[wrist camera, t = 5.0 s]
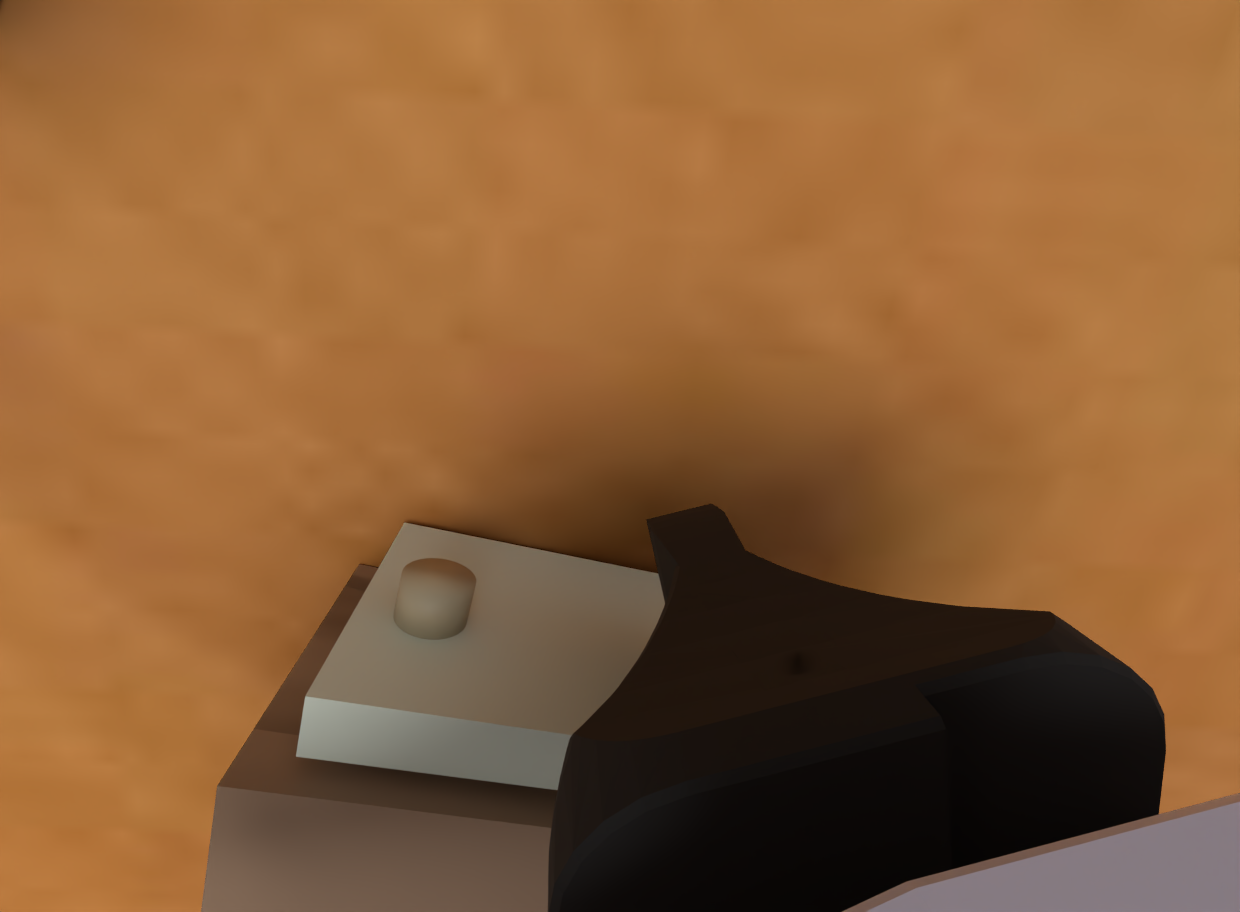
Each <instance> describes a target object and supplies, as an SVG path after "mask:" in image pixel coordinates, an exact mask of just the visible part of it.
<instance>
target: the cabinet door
mask: <svg viewBox="0 0 1240 912" xmlns="http://www.w3.org/2000/svg"><path fill="white" fill-rule="evenodd" d="M664 605H665V601H664V596H663V592H662V588H661V583H660V579H659V574H658V573H653V572H648V571H643V570H638V569H633V568H628V567H623V566H618V565H613V564H608V563H603V562H598V561H593V560H588V559H583V558H578V557H573V556H568V555H563V554H559V553H554V552H549V551H544V550H539V549H534V548H529V547H524V546H519V545H514V544H509V543H504V542H499V541H494V540H489V539H484V538H479V537H474V536H469V535H464V534H459V533H454V532H449V531H444V530H439V529H434V528H430V527H425V526H420V525H415V524H410V523H405V522H404V524H403V526H402V528H401V529H400V531H399V533H398V535H397V536H396V538H395V540H394V542H393V543H392V545H391V547H390V549H389V550H388V552H387V554H386V556H385V557H384V559H383V561H382V563H381V564H380V566H379V568H378V570H377V571H376V573H375V575H374V577H373V578H372V580H371V582H370V584H369V585H368V587H367V589H366V591H365V592H364V594H363V596H362V598H361V599H360V601H359V603H358V605H357V606H356V608H355V610H354V612H353V613H352V615H351V617H350V619H349V620H348V622H347V624H346V626H345V627H344V629H343V631H342V633H341V634H340V636H339V638H338V640H337V641H336V643H335V645H334V647H333V648H332V650H331V652H330V654H329V655H328V657H327V659H326V661H325V662H324V664H323V666H322V668H321V669H320V671H319V673H318V675H317V676H316V678H315V680H314V682H313V683H312V685H311V687H310V689H309V690H308V692H307V694H306V696H305V701H304V707H303V714H302V720H301V726H300V733H299V739H298V746H297V752H296V757H303V758H311V759H319V760H327V761H334V762H342V763H350V764H358V765H366V766H373V767H381V768H389V769H397V770H404V771H412V772H420V773H428V774H436V775H443V776H451V777H459V778H467V779H474V780H482V781H490V782H498V783H506V784H513V785H521V786H529V787H537V788H544V789H552V790H558V785H559V779H560V775H561V771H562V767H563V762H564V758H565V754H566V750H567V746H568V742H569V739H570V737H571V736H572V734H573V733H574V732H575V731H576V730H577V729H579V728H580V727H581V726H582V725H583V724H584V723H585V722H586V721H587V720H588V719H589V718H590V717H591V716H592V715H593V714H594V713H595V712H596V710H597V709H598V708H599V707H600V706H601V705H602V704H603V703H604V702H605V701H606V700H607V699H608V698H609V697H610V696H611V695H612V694H613V693H614V692H615V690H616V689H617V688H618V687H619V685H620V684H621V682H622V681H623V680H624V678H625V677H626V675H627V674H628V673H629V671H630V670H631V668H632V667H633V666H634V664H635V663H636V661H637V660H638V658H639V657H640V655H641V653H642V651H643V650H644V648H645V646H646V644H647V642H648V641H649V639H650V637H651V635H652V633H653V631H654V629H655V627H656V625H657V623H658V620H659V618H660V615H661V613H662V611H663V608H664Z"/></svg>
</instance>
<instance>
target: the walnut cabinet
mask: <svg viewBox="0 0 1240 912" xmlns="http://www.w3.org/2000/svg"><path fill="white" fill-rule="evenodd" d="M377 570H378V568H377V567H371V566H366V565H361V564H359V566H358V567H357V569H356V570H355V572H354V573H353V575H352V577H351V578H350V580H349V581H348V583H347V584H346V586H345V587H344V589H343V591H342V592H341V594H340V595H339V597H338V598H337V600H336V602H335V603H334V605H333V606H332V608H331V609H330V611H329V612H328V614H327V616H326V617H325V619H324V620H323V622H322V623H321V625H320V627H319V628H318V630H317V631H316V633H315V634H314V636H313V637H312V639H311V641H310V642H309V644H308V645H307V647H306V648H305V650H304V651H303V653H302V655H301V656H300V658H299V659H298V661H297V662H296V664H295V666H294V667H293V669H292V670H291V672H290V673H289V675H288V676H287V678H286V680H285V681H284V683H283V684H282V686H281V687H280V689H279V691H278V692H277V694H276V695H275V697H274V698H273V700H272V701H271V703H270V705H269V706H268V708H267V709H266V711H265V712H264V714H263V715H262V717H261V719H260V720H259V722H258V723H257V725H256V726H255V728H254V730H253V731H252V733H251V734H250V736H249V737H248V739H247V740H246V742H245V744H244V745H243V747H242V748H241V750H240V751H239V753H238V755H237V756H236V758H235V759H234V761H233V762H232V764H231V765H230V767H229V769H228V770H227V772H226V773H225V775H224V776H223V778H222V779H221V781H220V783H219V784H218V786H217V792H216V800H215V808H214V816H213V824H212V831H211V839H210V847H209V855H208V863H207V870H206V878H205V886H204V894H203V902H202V909H201V912H548V862H549V844H550V835H551V828H552V820H553V813H554V806H555V800H556V795H557V790H552V789H544V788H537V787H529V786H521V785H513V784H506V783H498V782H490V781H482V780H474V779H467V778H459V777H451V776H443V775H436V774H428V773H420V772H412V771H404V770H397V769H389V768H381V767H373V766H366V765H358V764H350V763H342V762H334V761H327V760H319V759H311V758H303V757H296V752H297V746H298V739H299V733H300V726H301V720H302V714H303V707H304V701H305V696H306V694H307V692H308V690H309V689H310V687H311V685H312V683H313V682H314V680H315V678H316V676H317V675H318V673H319V671H320V669H321V668H322V666H323V664H324V662H325V661H326V659H327V657H328V655H329V654H330V652H331V650H332V648H333V647H334V645H335V643H336V641H337V640H338V638H339V636H340V634H341V633H342V631H343V629H344V627H345V626H346V624H347V622H348V620H349V619H350V617H351V615H352V613H353V612H354V610H355V608H356V606H357V605H358V603H359V601H360V599H361V598H362V596H363V594H364V592H365V591H366V589H367V587H368V585H369V584H370V582H371V580H372V578H373V577H374V575H375V573H376V571H377Z"/></svg>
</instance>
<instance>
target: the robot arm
mask: <svg viewBox="0 0 1240 912" xmlns="http://www.w3.org/2000/svg"><path fill="white" fill-rule="evenodd" d="M646 520H647V525H648V529H649V534H650V538H651V543H652V547H653V552H654V556H655V561H656V565H657V570H658V574H659V579H660V583H661V588H662V592H663V596H664V601H665V605H664V608H663V611H662V613H661V615H660V618H659V620H658V623H657V625H656V627H655V629H654V631H653V633H652V635H651V637H650V639H649V641H648V642H647V644H646V646H645V648H644V650H643V651H642V653H641V655H640V657H639V658H638V660H637V661H636V663H635V664H634V666H633V667H632V668H631V670H630V671H629V673H628V674H627V675H626V677H625V678H624V680H623V681H622V682H621V684H620V685H619V687H618V688H617V689H616V690H615V692H614V693H613V694H612V695H611V696H610V697H609V698H608V699H607V700H606V701H605V702H604V703H603V704H602V705H601V706H600V707H599V708H598V709H597V710H596V712H595V713H594V714H593V715H592V716H591V717H590V718H589V719H588V720H587V721H586V722H585V723H584V724H583V725H582V726H581V727H580V728H579V729H577V730H576V731H575V732H574V733H573V734H572V736H571V737H570V739H569V742H568V746H567V750H566V754H565V758H564V762H563V767H562V771H561V775H560V779H559V785H558V790H557V795H556V800H555V806H554V813H553V820H552V828H551V835H550V844H549V862H548V912H1240V793H1238V794H1234V795H1230V796H1226V797H1223V798H1219V799H1215V800H1211V801H1208V802H1204V803H1200V804H1196V805H1192V806H1189V807H1185V808H1181V809H1177V810H1174V811H1170V812H1166V813H1162V814H1159V806H1160V797H1161V789H1162V780H1163V771H1164V763H1165V754H1166V742H1165V722H1164V713H1163V711H1162V709H1161V706H1160V704H1159V702H1158V700H1157V698H1156V695H1155V693H1154V691H1153V689H1152V688H1151V687H1150V686H1149V685H1148V684H1147V683H1146V682H1145V681H1144V680H1143V679H1142V678H1141V677H1140V676H1139V675H1138V674H1136V673H1135V672H1134V671H1133V670H1132V669H1131V668H1130V667H1128V666H1127V665H1126V664H1124V663H1123V662H1121V661H1120V660H1119V659H1117V658H1116V657H1114V656H1113V655H1112V654H1110V653H1109V652H1107V651H1106V650H1105V649H1103V648H1102V647H1100V646H1099V645H1097V644H1096V643H1095V642H1093V641H1092V640H1090V639H1089V638H1088V637H1086V636H1085V635H1083V634H1082V633H1081V632H1079V631H1078V630H1076V629H1075V628H1073V627H1072V626H1071V625H1069V624H1068V623H1066V622H1065V621H1064V620H1062V619H1060V618H1059V617H1057V616H1056V615H1054V614H1053V613H1051V612H1047V611H1030V610H1013V609H996V608H979V607H963V606H953V605H945V604H938V603H930V602H922V601H915V600H908V599H902V598H896V597H890V596H885V595H879V594H875V593H870V592H866V591H862V590H857V589H853V588H848V587H844V586H840V585H836V584H833V583H829V582H825V581H822V580H819V579H816V578H813V577H810V576H807V575H804V574H801V573H798V572H795V571H792V570H789V569H786V568H784V567H781V566H779V565H776V564H774V563H772V562H769V561H767V560H765V559H763V558H760V557H758V556H756V555H754V554H752V553H749V552H747V551H745V549H744V547H743V545H742V544H741V542H740V540H739V538H738V536H737V534H736V532H735V531H734V529H733V527H732V525H731V523H730V522H729V520H728V518H727V516H726V515H725V513H724V512H723V511H722V510H721V509H719V508H718V507H717V506H715V505H713V504H708V505H704V506H700V507H696V508H691V509H687V510H683V511H679V512H675V513H671V514H667V515H663V516H659V517H655V518H651V519H646Z"/></svg>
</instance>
